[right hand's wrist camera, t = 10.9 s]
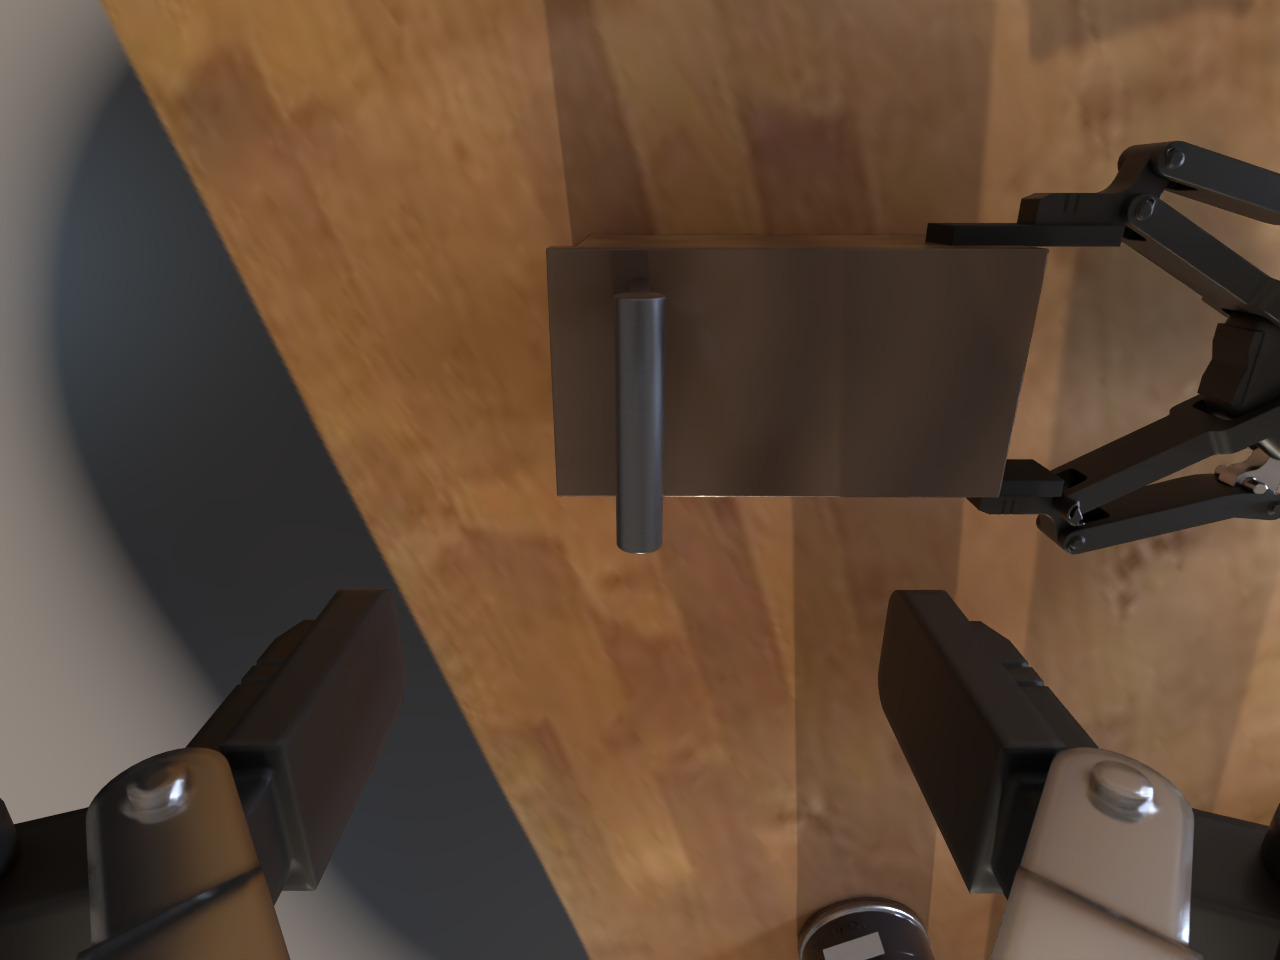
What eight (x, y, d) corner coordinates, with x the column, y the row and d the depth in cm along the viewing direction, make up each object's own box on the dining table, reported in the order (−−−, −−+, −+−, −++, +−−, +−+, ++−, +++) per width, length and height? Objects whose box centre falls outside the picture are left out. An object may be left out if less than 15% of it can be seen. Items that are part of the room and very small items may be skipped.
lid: (559, 487, 30) (533, 578, 23) (548, 246, 27) (514, 264, 20) (988, 488, 30) (1097, 580, 23) (1036, 247, 27) (1182, 265, 19)
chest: (594, 426, 38) (581, 487, 30) (589, 234, 35) (574, 245, 27) (915, 427, 38) (988, 488, 30) (944, 235, 35) (1035, 246, 27)
